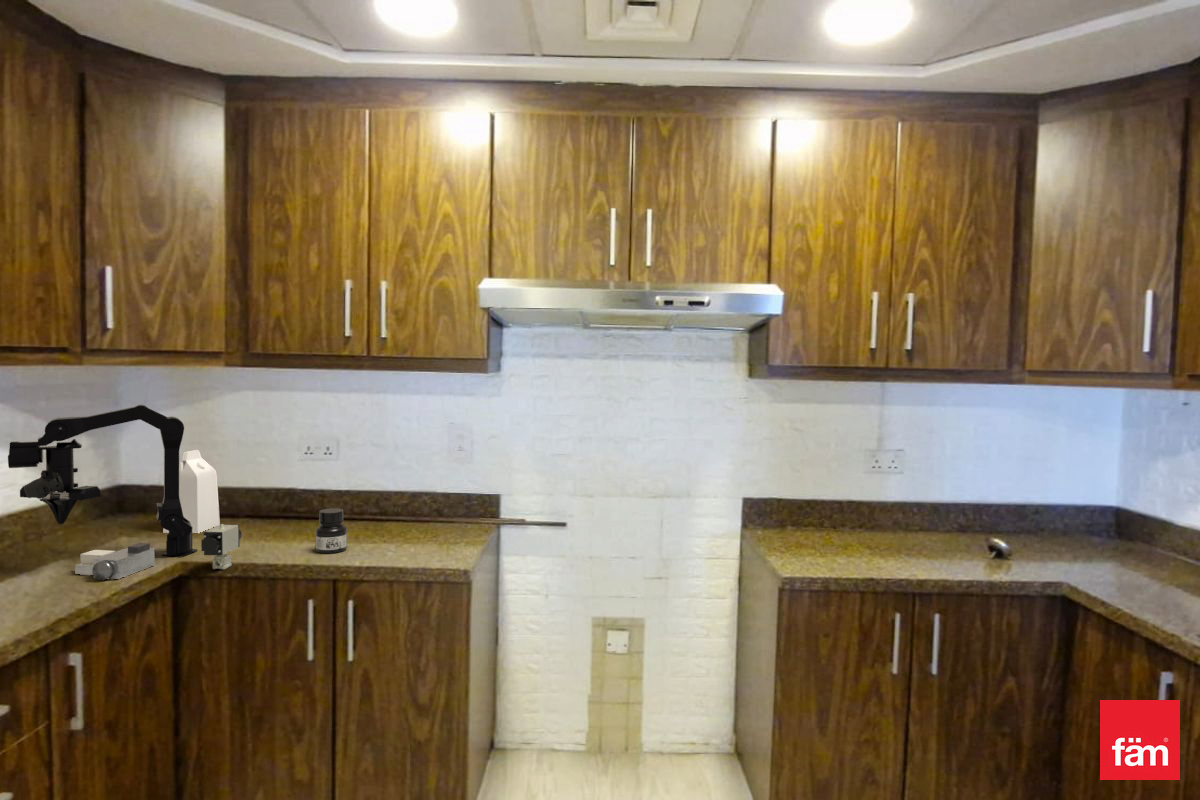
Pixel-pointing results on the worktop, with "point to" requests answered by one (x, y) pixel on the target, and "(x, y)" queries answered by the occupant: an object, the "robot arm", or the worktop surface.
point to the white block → (93, 555)
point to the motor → (119, 562)
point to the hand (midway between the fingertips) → (61, 523)
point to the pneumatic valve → (221, 544)
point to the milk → (198, 492)
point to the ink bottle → (331, 532)
